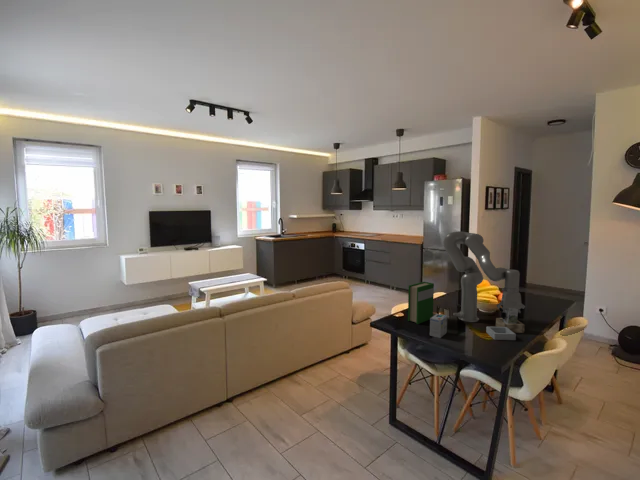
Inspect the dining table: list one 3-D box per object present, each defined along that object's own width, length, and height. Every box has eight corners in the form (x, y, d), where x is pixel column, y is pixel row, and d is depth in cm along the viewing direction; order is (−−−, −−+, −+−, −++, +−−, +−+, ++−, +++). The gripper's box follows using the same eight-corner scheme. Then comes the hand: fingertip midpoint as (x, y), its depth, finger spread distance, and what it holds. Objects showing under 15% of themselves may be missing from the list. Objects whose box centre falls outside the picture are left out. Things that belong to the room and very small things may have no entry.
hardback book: (417, 324, 214) (418, 287, 212) (407, 321, 220) (408, 285, 217) (432, 318, 225) (433, 283, 223) (423, 315, 231) (424, 281, 228)
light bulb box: (435, 330, 203) (436, 313, 202) (447, 332, 199) (447, 315, 198) (429, 335, 195) (429, 317, 194) (440, 338, 191) (441, 320, 190)
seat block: (494, 339, 188) (494, 333, 188) (486, 332, 200) (486, 326, 199) (515, 340, 187) (515, 334, 187) (506, 332, 199) (506, 326, 198)
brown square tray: (504, 332, 199) (504, 324, 199) (495, 325, 210) (496, 317, 210) (524, 332, 198) (524, 324, 198) (514, 326, 210) (515, 318, 209)
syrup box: (511, 327, 207) (512, 304, 206) (517, 330, 201) (518, 307, 200) (502, 327, 207) (503, 304, 206) (507, 331, 201) (509, 307, 200)
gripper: (499, 291, 199) (498, 320, 201) (529, 291, 197) (528, 320, 199) (493, 288, 206) (492, 316, 208) (523, 288, 205) (521, 316, 207)
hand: (510, 318), depth 204 cm, fingers open, 7 cm apart
